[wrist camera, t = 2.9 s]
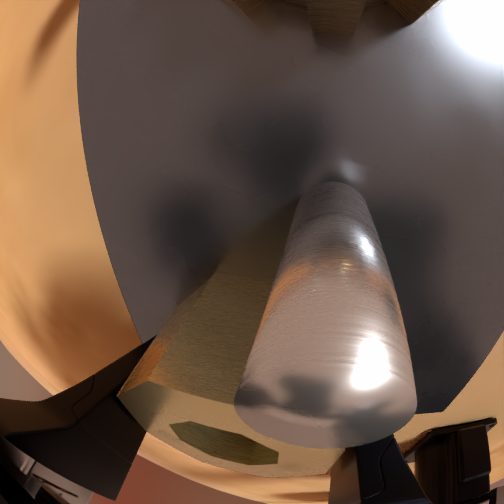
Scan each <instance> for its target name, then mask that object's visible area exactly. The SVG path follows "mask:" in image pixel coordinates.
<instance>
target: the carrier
mask: <svg viewBox="0 0 504 504" xmlns="http://www.w3.org/2000/svg"><path fill="white" fill-rule="evenodd" d="M77 90H78V104H79V115H80V124H81V133H82V140H83V147H84V153H85V159H86V165H87V171H88V176H89V181H90V186H91V190H92V195H93V199H94V204H95V208H96V212H97V216H98V220H99V224H100V227H101V231H102V234H103V238H104V241H105V245H106V248H107V251H108V255H109V258H110V261H111V264H112V267H113V270H114V273H115V276H116V279H117V282H118V284H119V287H120V290H121V293H122V295H123V298H124V301H125V303H126V306H127V308H128V311H129V313H130V316H131V318H132V321H133V323H134V325H135V328H136V330H137V332H138V335H139V337H140V339H141V341H142V344H143V343H145V342H146V341H148V340H149V339H151V338H152V337H154V336H156V335H157V334H158V333H159V331H160V330H161V328H162V327H163V326H164V324H165V323H166V321H167V320H168V318H169V317H170V315H171V314H172V313H173V311H174V310H175V308H177V307H178V306H179V305H180V304H181V303H182V302H183V301H184V300H185V299H187V298H188V297H189V296H190V295H191V294H192V293H193V292H194V291H196V290H197V289H198V288H199V287H200V286H201V285H202V284H203V283H204V282H206V281H207V280H208V279H209V278H210V277H211V276H212V275H213V274H214V273H215V274H224V275H233V276H242V277H251V278H260V279H269V280H274V283H273V286H272V289H271V292H270V295H269V298H268V301H267V304H266V307H265V310H264V313H263V316H262V319H261V322H260V325H259V328H258V331H257V334H256V337H255V340H254V343H253V346H252V349H251V352H250V355H249V358H248V360H247V363H246V366H245V369H244V372H243V375H242V378H241V380H240V383H239V386H238V389H237V391H236V394H235V397H234V408H235V411H236V413H237V414H238V416H239V417H240V419H241V420H242V421H243V422H244V423H245V424H247V425H248V426H249V427H250V428H252V429H253V430H255V431H257V432H258V433H260V434H262V435H264V436H266V437H269V438H271V439H274V440H276V441H280V442H283V443H286V444H291V445H295V446H301V447H308V448H320V449H335V448H347V447H354V446H359V445H364V444H368V443H371V442H374V441H377V440H380V439H383V438H385V437H387V436H389V435H391V434H393V433H395V432H396V431H398V430H399V429H401V428H402V427H403V426H405V425H406V424H407V423H408V422H409V421H410V420H411V418H412V417H413V415H414V414H423V413H434V412H443V411H444V410H445V409H446V408H447V406H448V405H449V404H450V403H451V402H452V401H453V400H454V399H455V397H456V396H457V395H458V394H459V393H460V392H461V390H462V389H463V388H464V387H465V385H466V384H467V383H468V382H469V380H470V379H471V378H472V377H473V375H474V374H475V373H476V371H477V370H478V369H479V367H480V366H481V364H482V363H483V362H484V360H485V359H486V357H487V356H488V354H489V353H490V351H491V350H492V348H493V347H494V345H495V344H496V342H497V341H498V339H499V337H500V336H501V334H502V332H503V331H504V0H80V4H79V14H78V28H77Z"/></svg>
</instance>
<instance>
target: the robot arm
mask: <svg viewBox="0 0 504 504" xmlns="http://www.w3.org/2000/svg"><path fill="white" fill-rule="evenodd" d="M156 336H157V335H156ZM156 336H154V337H152V338H151V339H149V340H148V341H146V342H145V343H143V344H141V345H140V346H138V347H137V348H135V349H134V350H132V351H130V352H129V353H127V354H126V355H124V356H122V357H121V358H119V359H118V360H116V361H115V362H113V363H111V364H110V365H108V366H107V367H105V368H103V369H102V370H100V371H98V372H97V373H95V374H94V375H92V376H90V377H89V378H87V379H85V380H84V381H82V382H80V383H78V384H77V385H75V386H73V387H71V388H69V389H67V390H65V391H63V392H60V393H58V394H56V395H54V396H52V397H50V398H48V399H45V400H42V401H35V402H33V401H32V402H31V401H20V400H12V399H4V398H0V504H88V503H89V501H90V499H91V497H92V495H93V493H97V494H99V495H102V496H104V497H106V498H109V499H111V500H114V501H115V500H116V498H117V496H118V494H119V492H120V489H121V487H122V485H123V483H124V480H125V478H126V476H127V474H128V472H129V469H130V467H131V465H132V462H133V460H134V458H135V456H136V454H137V451H138V449H139V447H140V445H141V443H142V441H143V438H144V436H145V434H146V431H145V429H144V428H143V427H142V426H141V425H140V424H139V423H138V421H137V420H136V419H135V418H134V417H133V416H132V414H131V413H130V412H129V411H128V410H127V408H126V407H125V406H124V405H123V403H122V402H121V401H120V400H119V398H118V397H117V395H118V393H119V391H120V390H121V388H122V387H123V385H124V384H125V382H126V381H127V379H128V378H129V376H130V375H131V373H132V372H133V370H134V369H135V367H136V366H137V364H138V363H139V361H140V360H141V358H142V357H143V355H144V354H145V352H146V351H147V349H148V348H149V346H150V345H151V343H152V342H153V340H154V339H155V337H156ZM496 424H497V419H496V418H493V419H489V420H485V421H481V422H476V423H472V424H467V425H461V426H456V427H449V428H443V429H437V430H434V431H432V432H430V433H429V434H428V435H427V436H426V437H425V438H423V439H422V440H421V441H420V442H419V443H418V444H417V445H415V446H414V447H413V448H412V449H411V450H409V451H408V452H407V453H406V454H404V455H403V454H402V452H401V450H400V448H399V446H398V444H397V441H396V439H395V438H394V435H393V434H391V435H389V436H387V437H385V438H383V439H380V440H377V441H374V442H371V443H368V444H364V445H359V446H354V447H347V448H345V451H344V452H343V453H342V455H341V456H340V457H339V458H338V460H337V461H336V462H335V463H334V464H333V465H332V470H331V482H330V493H329V502H328V504H482V503H484V502H487V501H489V504H504V486H501V487H497V488H495V489H493V490H490V479H489V473H490V472H491V461H490V451H489V443H488V436H487V432H488V431H489V430H490V429H491V428H493V427H494V426H495V425H496ZM410 462H415V473H414V474H413V473H412V471H411V469H410V467H409V466H408V464H407V463H410Z"/></svg>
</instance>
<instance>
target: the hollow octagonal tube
mask: <svg viewBox="0 0 504 504" xmlns="http://www.w3.org/2000/svg"><path fill="white" fill-rule="evenodd" d="M273 283H274V280H269V279H260V278H251V277H242V276H233V275H224V274H215V273H214V274H213V275H212V276H211V277H210V278H209V279H208V280H207V281H206V282H204V283H203V284H202V285H201V286H200V287H199V288H198V289H197V290H196V291H194V292H193V293H192V294H191V295H190V296H189V297H188V298H187V299H185V300H184V301H183V302H182V303H181V304H180V305H179V306H178V307H177V308H175V310H174V311H173V313H172V314H171V315H170V317H169V318H168V320H167V321H166V323H165V324H164V326H163V327H162V328H161V330H160V331H159V333H158V334H157V336H156V337H155V339H154V340H153V342H152V343H151V345H150V346H149V348H148V349H147V351H146V352H145V354H144V355H143V357H142V358H141V360H140V361H139V363H138V364H137V366H136V367H135V369H134V370H133V372H132V373H131V375H130V376H129V378H128V379H127V381H126V382H125V384H124V385H123V387H122V388H121V390H120V391H119V393H118V395H117V397H118V398H119V400H120V401H121V402H122V403H123V405H124V406H125V407H126V408H127V410H128V411H129V412H130V413H131V414H132V416H133V417H134V418H135V419H136V420H137V421H138V423H139V424H140V425H141V426H142V427H143V428H144V429H145V431H146V432H148V433H150V434H151V435H153V436H155V437H156V438H158V439H160V440H161V441H163V442H165V443H167V444H168V445H170V446H172V447H174V448H176V449H178V450H179V451H181V452H183V453H185V454H187V455H189V456H191V457H193V458H195V459H197V460H199V461H201V462H204V463H207V464H211V465H214V466H218V467H222V468H225V469H229V470H234V471H238V472H242V473H247V474H252V475H257V476H262V477H268V478H271V477H295V476H308V475H317V474H326V472H327V471H328V470H329V469H330V468H331V467H332V465H333V464H334V463H335V462H336V461H337V460H338V458H339V457H340V456H341V455H342V453H343V452H344V451H345V448H335V449H320V448H308V447H301V446H295V445H291V444H286V443H283V442H280V441H276V440H274V439H271V438H269V437H266V436H264V435H262V434H260V433H258V432H257V431H255V430H253V429H252V428H250V427H249V426H248V425H247V424H245V423H244V422H243V421H242V420H241V419H240V417H239V416H238V414H237V413H236V411H235V408H234V397H235V394H236V391H237V389H238V386H239V383H240V380H241V378H242V375H243V372H244V369H245V366H246V363H247V360H248V358H249V355H250V352H251V349H252V346H253V343H254V340H255V337H256V334H257V331H258V328H259V325H260V322H261V319H262V316H263V313H264V310H265V307H266V304H267V301H268V298H269V295H270V292H271V289H272V286H273Z"/></svg>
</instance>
